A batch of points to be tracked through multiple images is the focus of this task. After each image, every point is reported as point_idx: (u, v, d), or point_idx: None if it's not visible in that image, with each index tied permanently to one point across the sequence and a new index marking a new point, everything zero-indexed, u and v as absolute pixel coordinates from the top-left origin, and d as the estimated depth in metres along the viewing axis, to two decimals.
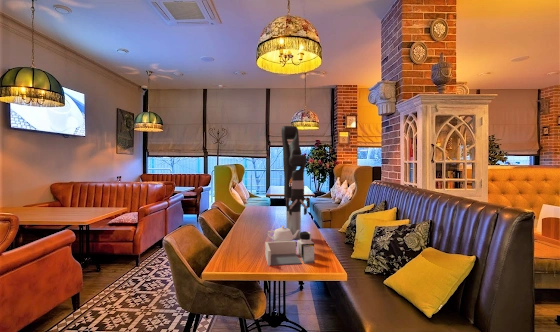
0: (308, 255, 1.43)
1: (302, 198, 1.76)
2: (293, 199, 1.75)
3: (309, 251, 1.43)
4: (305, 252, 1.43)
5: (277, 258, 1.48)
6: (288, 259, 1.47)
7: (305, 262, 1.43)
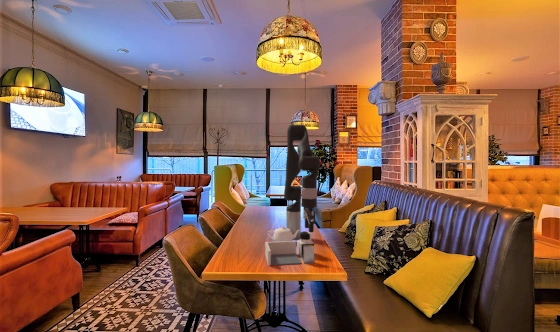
0: (308, 255, 1.43)
1: None
2: None
3: (309, 251, 1.43)
4: (305, 252, 1.43)
5: (277, 258, 1.48)
6: (288, 259, 1.47)
7: (305, 262, 1.43)
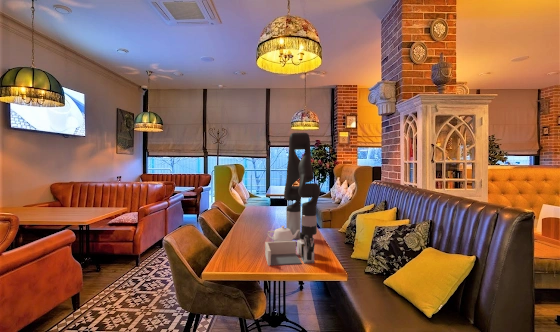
0: None
1: None
2: None
3: None
4: (305, 252, 1.43)
5: (277, 258, 1.48)
6: (288, 259, 1.47)
7: (305, 262, 1.43)
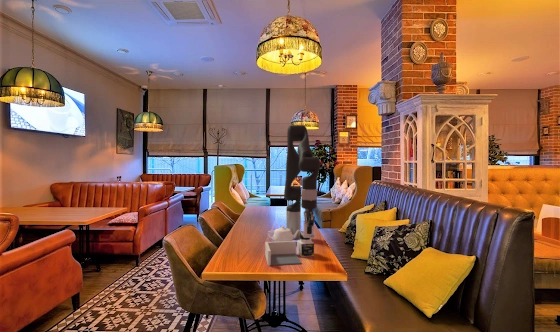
0: None
1: None
2: None
3: None
4: (305, 226, 1.43)
5: (277, 258, 1.48)
6: (288, 259, 1.47)
7: (305, 236, 1.43)
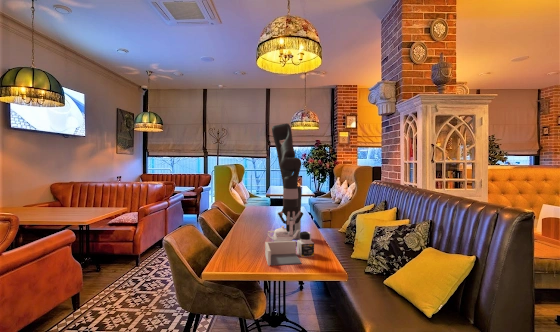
0: None
1: None
2: None
3: None
4: (292, 225, 1.46)
5: (277, 258, 1.48)
6: (288, 259, 1.47)
7: None
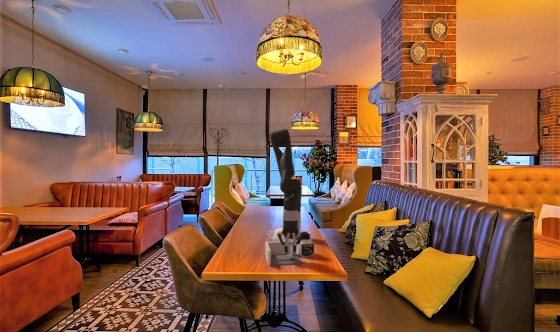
0: None
1: None
2: None
3: None
4: (292, 248, 1.46)
5: None
6: None
7: None
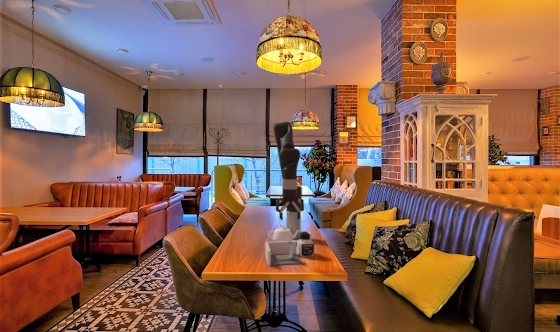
0: None
1: None
2: None
3: None
4: (292, 248, 1.46)
5: None
6: None
7: None
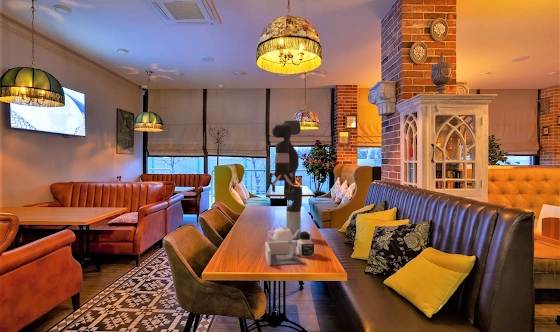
0: None
1: None
2: None
3: None
4: (292, 248, 1.46)
5: None
6: None
7: None
